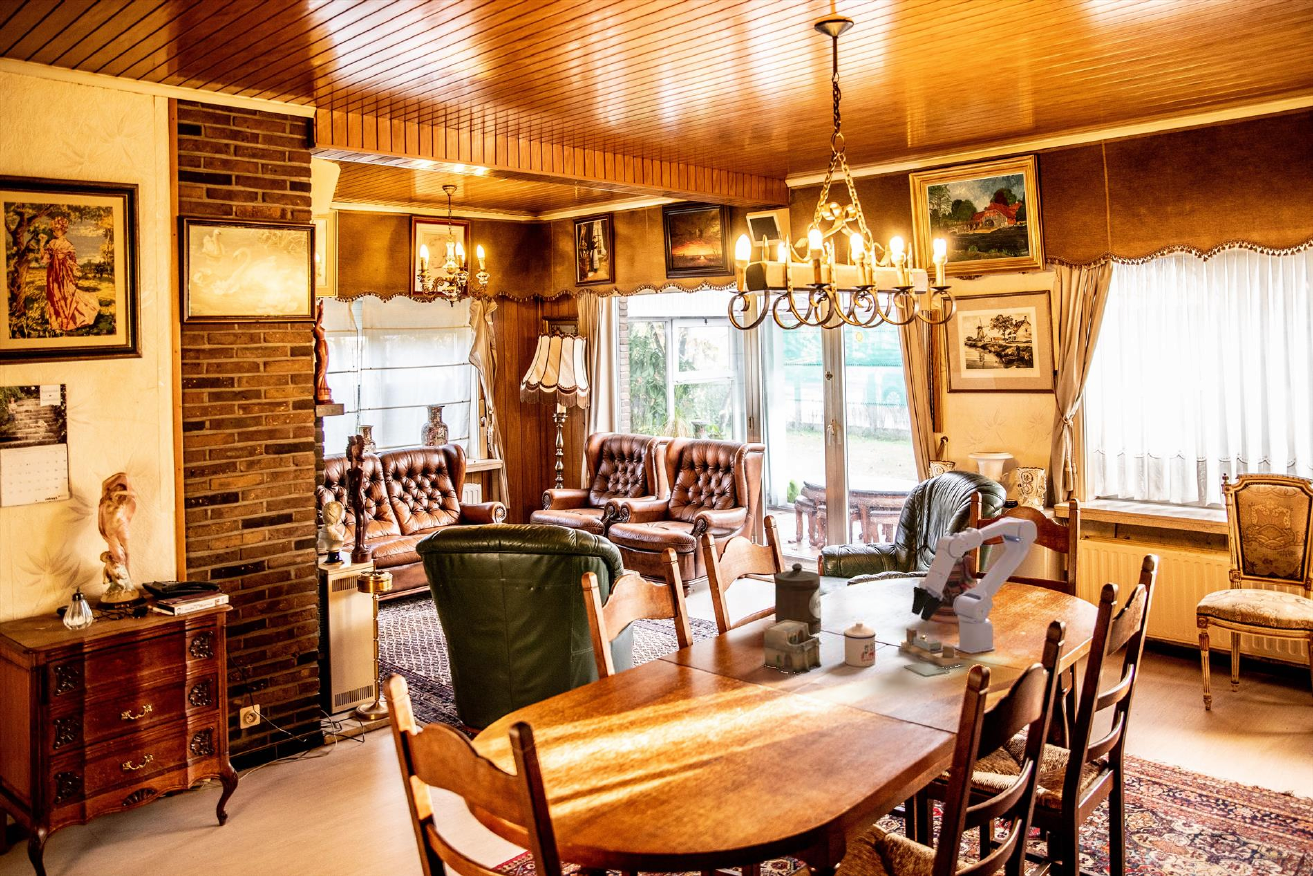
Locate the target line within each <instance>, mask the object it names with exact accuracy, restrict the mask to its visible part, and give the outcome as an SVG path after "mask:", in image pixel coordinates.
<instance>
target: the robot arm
mask: <svg viewBox="0 0 1313 876" xmlns="http://www.w3.org/2000/svg"><path fill="white" fill-rule="evenodd" d="M1037 529H1038V528H1037V525H1036V523H1035V522H1034V521H1033V520H1030V519H1021V518H1016V517H1012V516H1005V517H1003V518H999V520H997V521H995V522H992V523H991V524H989V525H987V526H984V527H982V528H980V529H977V528H974V527H967V528H965V530H964V531H961V532H959V533H958V532H955V533H953V534H952V535H951V536H950V535H943V536H942V537H940V539H938V540H937V541H936V543H935V545H936V546H935V547H936V551H935V553H934V557H935V558H934V557H933V558H934V560H933V563H932V562H931V565H930V568H929V570H928V572H927V574H926V576H925V578H924V581H923V580H920V581H919V583H918V586H914V587H913V601H912V607H911V613H912V614H914V615H917V616H919V615H920V619H921V620H923V621H924V622H929V621H930V620H929V619H930V618H931V616H932V615H933V614H934V613H935V611H936V610H937V609H939V608H940V607H941V606H943V604H944V602H942V601H941V600H942V598H943V595H942V590H943V588H944V586H945V584H946V581H947V579H948V577H949V575H950V572H951V570H952V568H953V566H954V563H955V561H956V559H957V558H958V557H961V558H963V557H964V555H965V552H968V551H971V550H973V549H976V548H979V547H981V546H982V544H983V543H984V541H987V540H990V539H993V538H996V537H1000V536H1001V538H1002V540H1003V544H1004V547H1006V550H1005V551H1003V554H1002V555H1001V556H999V558H998V559H997V561H996V562H995V563H994V564H993V566H992V567H991V568H990V569H989V570H988V572H987V573H986V574H985V575H984V576H983V578H982V579H981V580H980V581H979V582H978V583H977V584H976V585H977V586H976V587H974V588H971V589H969V588H968V590H966V591H965V592H964V593H963V594H962V595H960V596H958V597H957V598H956V599H955V601H954V604H953V608H954V611H955V613H956V614H958V618H959V623H958V633H959V634H958V637H959V638H958V639H959V640H958V643H959V644H956V645H953V646H954V649H957V650H959V651H961V652H965V653H966V654H976V653H983V652H988V651H993V650H994V649H995V650H996V647H994V628H993V627H994V626H993V624H992V622H991V620H990V619H988V618H989V616H990V612H991V610H992V609H993V607H994V602H993V599H992V598H993V597H994V596H995V595H996V593H998V591H999V590H1000V589H1001V588H1002V586H1003V585H1004V584H1005V583H1006V581H1008V579H1009V578H1010V577H1011V576H1012V574H1013V573H1014V572H1015V571H1016V569H1017V568H1018V567H1019V565H1020V564H1021V563H1022V562H1023V561H1024V560H1025V558H1027V555H1028V552H1029V550H1030V548H1031V545H1033V543H1034V542H1035V540H1036V539H1037V538H1038V530H1037ZM982 651H983V652H982Z"/></svg>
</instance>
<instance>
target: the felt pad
mask: <svg viewBox="0 0 1313 876" xmlns="http://www.w3.org/2000/svg"><path fill="white" fill-rule="evenodd" d="M905 667H906V668H905ZM903 668H905V669H907V670H909V669H910V670H909V671H911V670H912V671H911V672H914V673H916V672H917V673H916V674H919V675H920V674H921V675H920V676H923V677H925V676H927V677H932V676H931V675H933V676H936V675H935V674H939V675H943V674H942V673H944V674H947V673H946V672H949V673H950V670H949V669H944V668H941V667H939V666H937V665H934V664H932V663H930V662H927V661H924V662H918V663H912V664H906V665H903Z"/></svg>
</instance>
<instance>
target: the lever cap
mask: <svg viewBox="0 0 1313 876" xmlns="http://www.w3.org/2000/svg"><path fill="white" fill-rule="evenodd" d="M942 644H943V643H942V641H940V640H938V639H935V638H932V637H929V636H927V635H925V634H924V635H923V634H922V635H919V636H918V635H917V637H913V646H915V647H918V648H920V649H922V650H925V651H927V652H930V651H936V650H942V646H943V645H942Z"/></svg>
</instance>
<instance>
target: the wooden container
mask: <svg viewBox="0 0 1313 876" xmlns="http://www.w3.org/2000/svg"><path fill="white" fill-rule="evenodd" d="M791 569H792V570H788V571H782V572H778V573H776V574H775V576H774V577H775V578H774V584H775V587H774V589H775V591H774V592H775V593H774V595H775V600H774V614H775V615H774V616H775V618H774V619H775V624H776V623H779V622H782V621H785V620H790V621H796V622H802V623H807V624H808V631H809V634H812V635H815V634H814V633H816V634H818V633H820V632H821V631H820V630H822V608H821V607H822V605H821V604H822V603H821V575H820V574H819V573H817V572H814V571H808V570H807V571H806V570H803V565H802V564H801V563H799V562H798V563H797V562H795V563H794V564H792V566H791ZM819 631H820V632H819ZM817 632H818V633H817Z"/></svg>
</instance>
